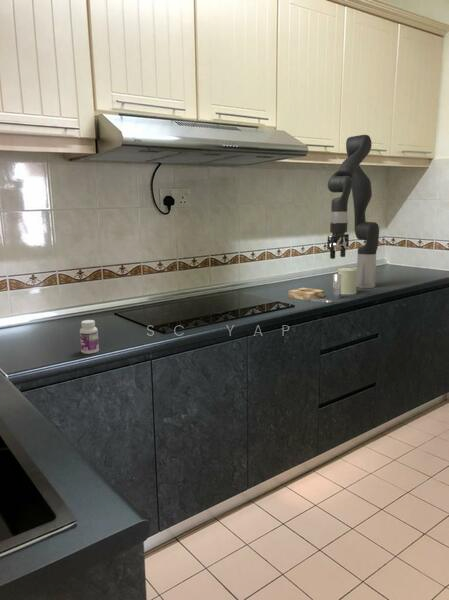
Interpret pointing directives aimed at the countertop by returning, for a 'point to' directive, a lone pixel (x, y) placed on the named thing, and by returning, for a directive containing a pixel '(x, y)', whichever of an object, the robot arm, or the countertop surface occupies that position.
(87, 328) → the pill bottle
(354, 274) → the can
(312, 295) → the socket block
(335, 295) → the pin
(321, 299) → the bar
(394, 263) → the countertop surface
